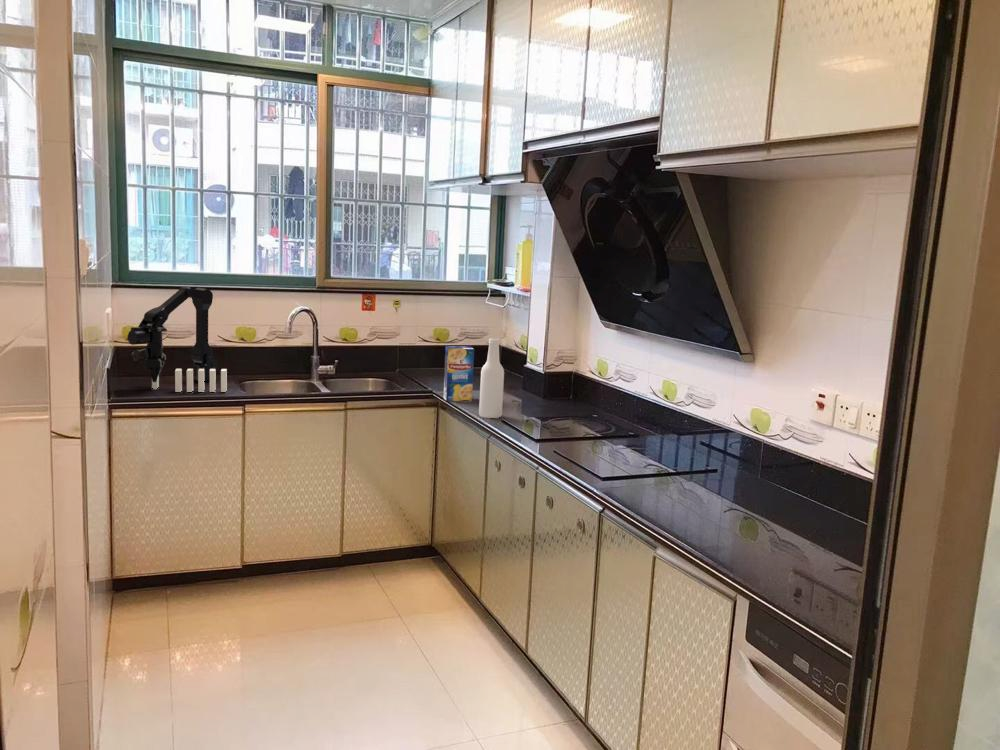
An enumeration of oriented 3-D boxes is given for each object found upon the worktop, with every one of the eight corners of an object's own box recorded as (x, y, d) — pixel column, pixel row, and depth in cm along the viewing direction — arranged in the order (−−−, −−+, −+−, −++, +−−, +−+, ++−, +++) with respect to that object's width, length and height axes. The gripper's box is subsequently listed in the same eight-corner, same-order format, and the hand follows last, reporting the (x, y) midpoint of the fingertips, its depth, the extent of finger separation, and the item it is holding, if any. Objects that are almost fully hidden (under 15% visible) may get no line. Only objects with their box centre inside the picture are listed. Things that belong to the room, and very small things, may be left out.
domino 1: (151, 389, 328) (151, 367, 326) (153, 386, 332) (153, 365, 331) (157, 389, 328) (156, 367, 327) (158, 386, 333) (158, 365, 331)
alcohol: (480, 418, 307) (484, 339, 302) (477, 413, 315) (481, 336, 310) (503, 419, 308) (507, 340, 303) (499, 414, 317) (504, 337, 312)
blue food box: (472, 401, 339) (474, 349, 335) (446, 401, 336) (448, 348, 332) (468, 397, 345) (471, 346, 341) (443, 397, 342) (445, 346, 339)
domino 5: (209, 392, 327) (209, 370, 325) (210, 390, 332) (210, 368, 330) (214, 392, 327) (214, 370, 326) (215, 390, 332) (215, 368, 331)
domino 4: (198, 392, 326) (198, 370, 324) (199, 390, 330) (199, 368, 329) (203, 392, 326) (203, 370, 325) (204, 390, 331) (204, 368, 329)
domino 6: (221, 392, 328) (220, 370, 327) (221, 390, 333) (221, 368, 331) (226, 392, 329) (226, 371, 327) (226, 390, 333) (226, 368, 332)
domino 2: (175, 392, 323) (175, 370, 322) (176, 390, 328) (176, 368, 326) (180, 392, 324) (180, 370, 322) (182, 390, 329) (181, 368, 327)
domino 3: (186, 392, 324) (186, 370, 323) (188, 390, 329) (187, 368, 328) (192, 392, 325) (192, 370, 324) (193, 390, 330) (193, 368, 328)
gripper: (136, 339, 334) (137, 376, 336) (129, 345, 316) (130, 384, 319) (165, 339, 337) (166, 376, 339) (160, 346, 319) (160, 385, 322)
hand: (155, 380), depth 330 cm, fingers closed on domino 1, 5 cm apart
